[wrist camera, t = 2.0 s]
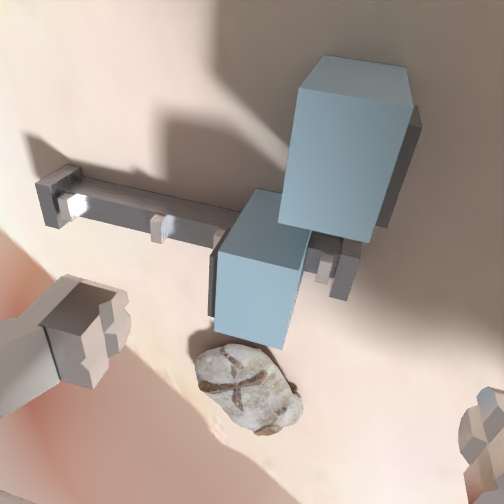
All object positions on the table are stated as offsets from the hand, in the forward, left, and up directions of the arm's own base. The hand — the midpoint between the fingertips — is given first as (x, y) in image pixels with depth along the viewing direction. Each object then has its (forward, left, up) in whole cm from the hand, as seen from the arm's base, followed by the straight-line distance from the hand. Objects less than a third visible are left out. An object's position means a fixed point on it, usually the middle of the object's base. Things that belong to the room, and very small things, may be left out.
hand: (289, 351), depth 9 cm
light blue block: (0, 0, -19) cm, 19 cm away
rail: (+9, +9, -19) cm, 22 cm away
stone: (+4, +27, -19) cm, 33 cm away
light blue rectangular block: (+3, +9, -19) cm, 21 cm away
